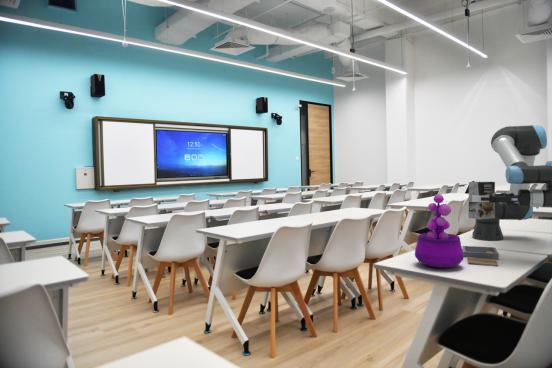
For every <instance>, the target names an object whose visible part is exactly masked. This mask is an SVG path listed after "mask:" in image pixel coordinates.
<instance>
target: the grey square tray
mask: <svg viewBox="0 0 552 368" xmlns="http://www.w3.org/2000/svg"><path fill="white" fill-rule="evenodd" d="M461 247H462V250H463V257H464V258H466V257H475V258H490V259H496V261H498V260H499V257H500V254H499V251H498V250H497V248H496V247H493V246H492V247H490V246H477V245H476V246H474V245H473V246H472V245H461Z"/></svg>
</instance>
